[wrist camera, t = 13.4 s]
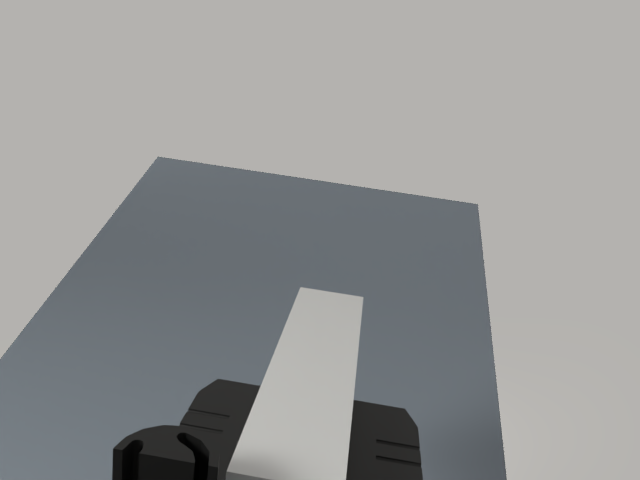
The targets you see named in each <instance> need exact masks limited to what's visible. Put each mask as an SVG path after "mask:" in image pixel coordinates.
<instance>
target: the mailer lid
mask: <svg viewBox="0 0 640 480" xmlns="http://www.w3.org/2000/svg"><path fill="white" fill-rule="evenodd" d="M300 287H303V288H309V289H316V290H322V291H328V292H335V293H341V294H347V295H354V296H360V297H363V306H362V317H361V327H360V338H359V348H358V359H357V369H356V379H355V390H354V400H358V401H363V402H369V403H375V404H381V405H387V406H393V407H399V408H404V409H406V411H407V412H408V414H409V415H410V416H411V418H412V419H413V421H414V422H415V424H416V425H417V426H418V433H419V443H420V450H419V451H420V453H421V468H422V474H423V480H506V469H505V460H504V450H503V441H502V431H501V422H500V412H499V403H498V393H497V384H496V375H495V366H494V355H493V345H492V336H491V326H490V317H489V307H488V298H487V289H486V279H485V269H484V260H483V250H482V241H481V231H480V222H479V213H478V204H472V203H466V202H459V201H452V200H445V199H439V198H431V197H425V196H418V195H412V194H405V193H398V192H391V191H385V190H378V189H371V188H365V187H357V186H351V185H344V184H338V183H331V182H324V181H318V180H310V179H304V178H297V177H291V176H284V175H277V174H271V173H264V172H257V171H250V170H243V169H237V168H230V167H223V166H216V165H210V164H203V163H197V162H190V161H182V160H176V159H169V158H162V157H157V159H156V160H155V161H154V163H153V164H152V165H151V166H150V168H149V169H148V170H147V172H146V173H145V174H144V175H143V177H142V178H141V179H140V181H139V182H138V183H137V184H136V186H135V187H134V188H133V190H132V191H131V192H130V194H129V195H128V196H127V197H126V199H125V200H124V201H123V202H122V204H121V205H120V206H119V208H118V209H117V210H116V211H115V213H114V214H113V215H112V217H111V218H110V219H109V220H108V222H107V223H106V224H105V226H104V227H103V228H102V229H101V231H100V232H99V233H98V234H97V236H96V237H95V238H94V240H93V241H92V242H91V244H90V245H89V246H88V247H87V249H86V250H85V251H84V252H83V254H82V255H81V257H80V258H79V259H78V260H77V261H76V263H75V264H74V265H73V267H72V268H71V269H70V270H69V272H68V273H67V274H66V276H65V277H64V278H63V279H62V281H61V282H60V283H59V285H58V286H57V287H56V288H55V290H54V291H53V292H52V293H51V295H50V296H49V297H48V299H47V300H46V301H45V302H44V304H43V305H42V306H41V308H40V309H39V310H38V312H37V313H36V314H35V315H34V317H33V318H32V319H31V320H30V322H29V323H28V324H27V326H26V327H25V328H24V329H23V331H22V332H21V333H20V335H19V336H18V337H17V338H16V340H15V341H14V342H13V344H12V345H11V346H10V348H9V349H8V350H7V351H6V353H5V354H4V355H3V356H2V358H1V359H0V480H112V466H113V448H114V447H115V446H116V445H117V444H118V443H119V442H120V441H122V440H123V439H124V438H125V437H126V436H128V435H131V434H133V433H135V432H137V431H139V430H142V429H144V428H149V427H155V426H161V425H174V426H179V425H180V422H181V420H182V418H183V417H184V415H185V413H186V412H188V408H189V407H190V405H191V403H192V402H193V400H194V398H195V397H196V395H197V393H198V392H199V391H200V390H201V389H203V388H204V387H206V386H207V385H209V384H211V383H212V382H214V381H215V380H217V379H223V380H229V381H235V382H241V383H247V384H252V385H258V386H261V384H262V382H263V379H264V377H265V374H266V372H267V369H268V367H269V364H270V362H271V359H272V357H273V354H274V352H275V349H276V347H277V344H278V342H279V339H280V337H281V334H282V332H283V329H284V327H285V324H286V322H287V319H288V317H289V314H290V312H291V309H292V307H293V304H294V302H295V299H296V297H297V294H298V292H299V289H300Z"/></svg>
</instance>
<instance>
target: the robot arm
mask: <svg viewBox="0 0 640 480" xmlns="http://www.w3.org/2000/svg"><path fill="white" fill-rule="evenodd" d="M362 306H363V297H360V296H354V295H347V294H341V293H335V292H328V291H322V290H316V289H309V288H303V287H300V289H299V292H298V294H297V297H296V299H295V302H294V304H293V307H292V309H291V312H290V314H289V317H288V319H287V322H286V324H285V327H284V329H283V332H282V334H281V337H280V339H279V342H278V344H277V347H276V349H275V352H274V354H273V357H272V359H271V362H270V364H269V367H268V369H267V372H266V374H265V377H264V379H263V382H262V384H261V386H258V385H252V384H247V383H241V382H235V381H229V380H223V379H217V380H215V381H214V382H212V383H211V384H209V385H207V386H206V387H204V388H203V389H201V390H200V391H199V392H198V393H197V395H196V397H195V398H194V400H193V402H192V403H191V405H190V407H189V408H188V412H186V413H185V415H184V417H183V418H182V420H181V422H180V425H179V426H174V425H161V426H155V427H149V428H144V429H142V430H139V431H137V432H135V433H133V434H131V435H128V436H126V437H125V438H124V439H123V440H122V441H120V442H119V443H118V444H117V445H116V446H115V447H114V448H113V466H112V480H423V474H422V468H421V453H420V451H419V450H420V443H419V433H418V426H417V425H416V424H415V422H414V421H413V419H412V418H411V416H410V415H409V414H408V412H407V411H406V409H404V408H399V407H393V406H387V405H381V404H375V403H369V402H363V401H358V400H354V390H355V379H356V369H357V359H358V348H359V338H360V327H361V317H362Z"/></svg>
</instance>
